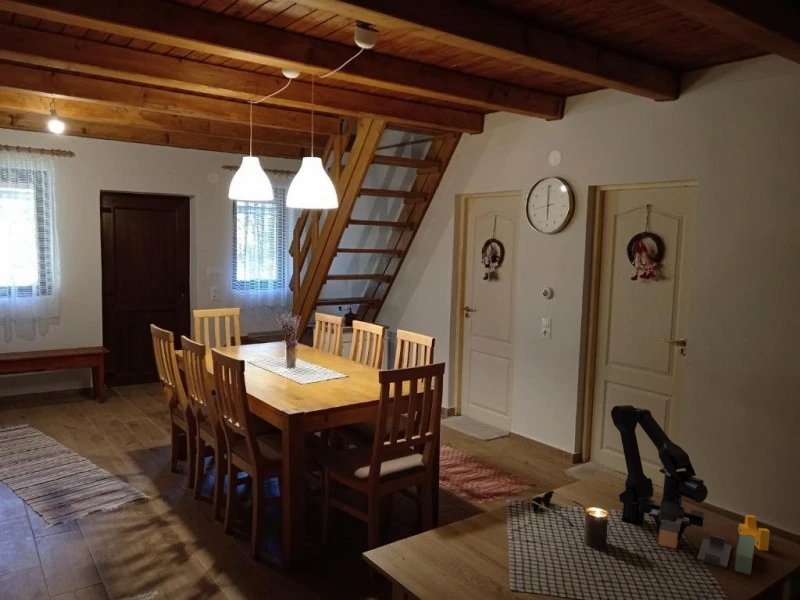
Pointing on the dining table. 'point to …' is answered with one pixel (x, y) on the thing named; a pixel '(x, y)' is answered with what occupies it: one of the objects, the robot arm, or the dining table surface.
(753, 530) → the pipe clamp
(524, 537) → the dining table surface
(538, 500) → the sunglasses
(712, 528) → the dining table surface
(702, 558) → the side mount
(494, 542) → the dining table surface
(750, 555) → the green long block
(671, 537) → the tan and grey block
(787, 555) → the dining table surface
